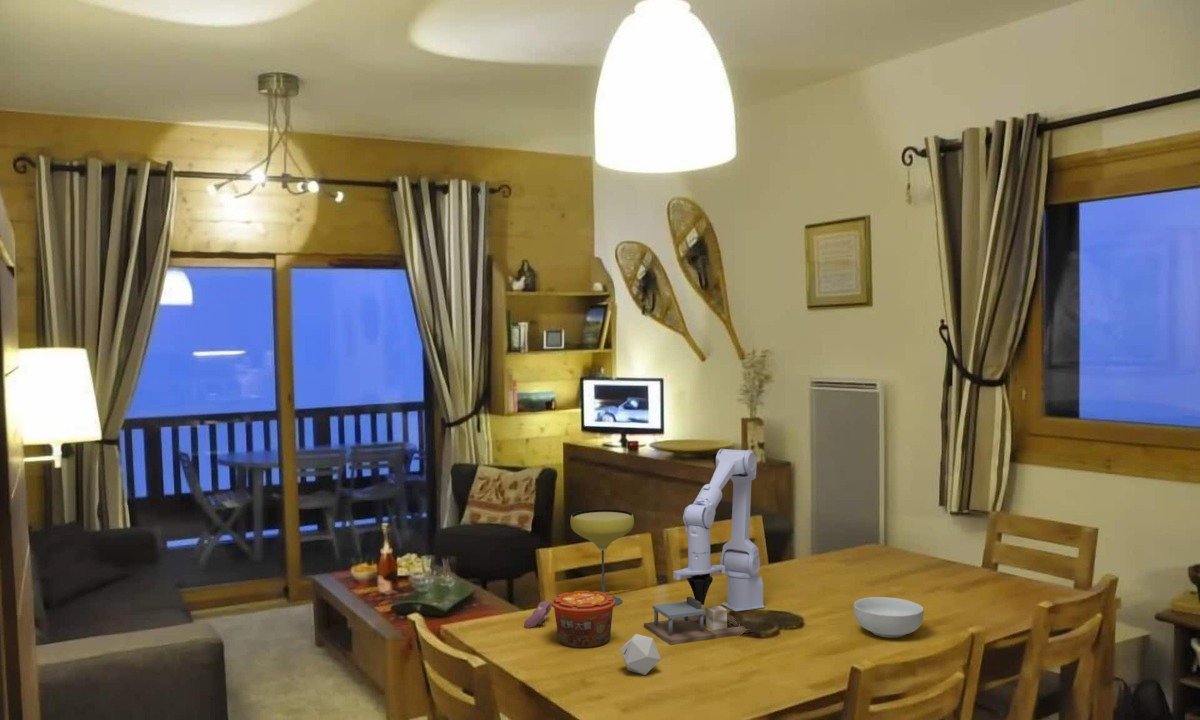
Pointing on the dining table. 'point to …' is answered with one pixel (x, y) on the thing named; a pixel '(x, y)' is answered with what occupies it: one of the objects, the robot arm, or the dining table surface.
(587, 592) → the food container
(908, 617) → the cereal bowl
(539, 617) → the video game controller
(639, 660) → the die
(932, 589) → the dining table surface
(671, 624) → the grey miniature stool
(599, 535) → the cocktail glass
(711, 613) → the block
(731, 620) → the puzzle board
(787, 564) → the dining table surface
